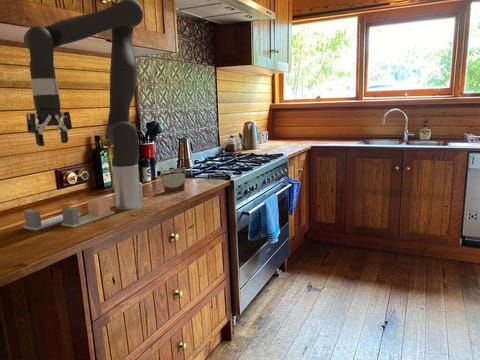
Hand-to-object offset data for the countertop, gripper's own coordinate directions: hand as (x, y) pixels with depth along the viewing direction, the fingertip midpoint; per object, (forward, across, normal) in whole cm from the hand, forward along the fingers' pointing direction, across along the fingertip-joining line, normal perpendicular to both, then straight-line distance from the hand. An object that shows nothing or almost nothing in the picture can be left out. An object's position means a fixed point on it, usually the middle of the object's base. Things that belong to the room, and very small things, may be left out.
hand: (53, 144), depth 121 cm
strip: (+26, +3, -1) cm, 26 cm away
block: (+25, -8, +8) cm, 28 cm away
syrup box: (+28, -47, -20) cm, 58 cm away
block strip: (+26, -4, +8) cm, 27 cm away
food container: (+28, -52, +6) cm, 59 cm away
